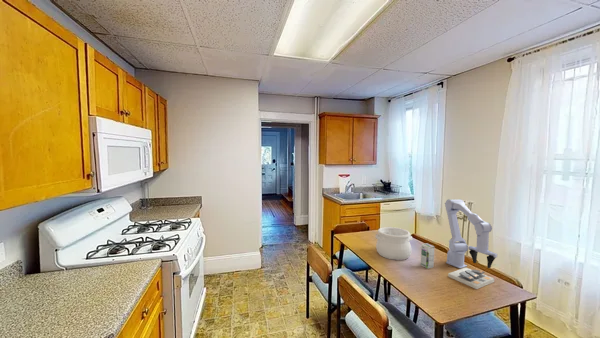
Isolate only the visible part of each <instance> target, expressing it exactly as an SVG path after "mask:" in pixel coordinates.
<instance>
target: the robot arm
mask: <svg viewBox="0 0 600 338" xmlns="http://www.w3.org/2000/svg"><path fill="white" fill-rule="evenodd" d="M444 206H445V211H446V214H447V219H448V224H449V229H450V233H451V234H450V235H451V238H450V239H449V240H448V249H449V250H448V251H447V253H446V262H445V264H448V265H451V266H453V267H455V268H458V269H463V268H467V267H468V265H467V264H465V254H466V253H467V251H468V253H469V254H470V256H471V259H472V263H473V264H476V263H477V259H478V253H479V254H484V255H486V260H487V264H486V265H487V269H490V268H492V265H493V262H494V261H495V259H496V258H498V253H497V252H496V253H495V252H493V251H491V250H489V247H490V246H489V242H490V232H492V229H493V227H492V225H491V222H488V221H485V220H484V219H482V218H481V217H480V216H479V214H478V213H473V211H471V210H470V208H469V207H468V206H467V205H466V202H465V201H464V199H461V198H459V199H455V198H454V199H450V198H448V199H446V201H445V202H444ZM460 211H461V213H463V214H464V215H465V216H466V217H467V220H468V221H469V222H470V223H471V224H472V225H473V226H474V230H475V234H476V246H473V245H468V244H467V242H466V239H464V237H462V233H461V230H460V225H459V220H458V216H457V213H458V212H460Z"/></svg>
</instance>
